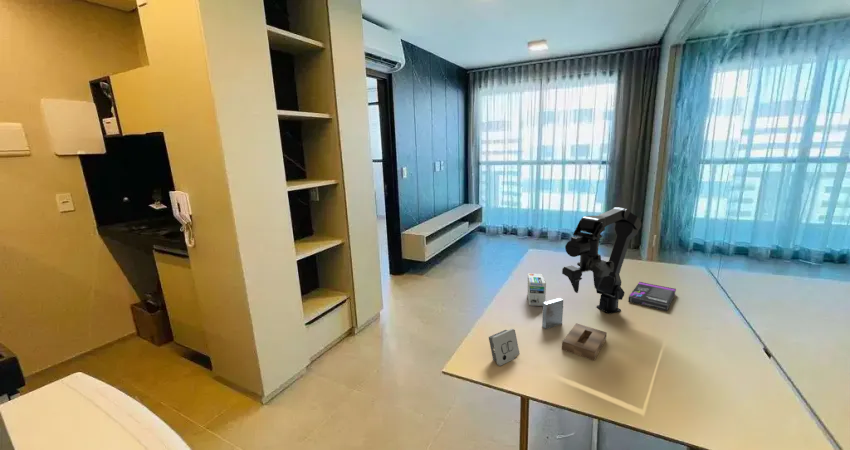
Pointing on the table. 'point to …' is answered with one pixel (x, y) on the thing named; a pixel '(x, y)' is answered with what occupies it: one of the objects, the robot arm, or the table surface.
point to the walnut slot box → (584, 341)
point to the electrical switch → (504, 346)
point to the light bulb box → (536, 289)
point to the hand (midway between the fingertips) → (586, 290)
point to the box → (652, 296)
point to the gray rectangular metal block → (552, 313)
